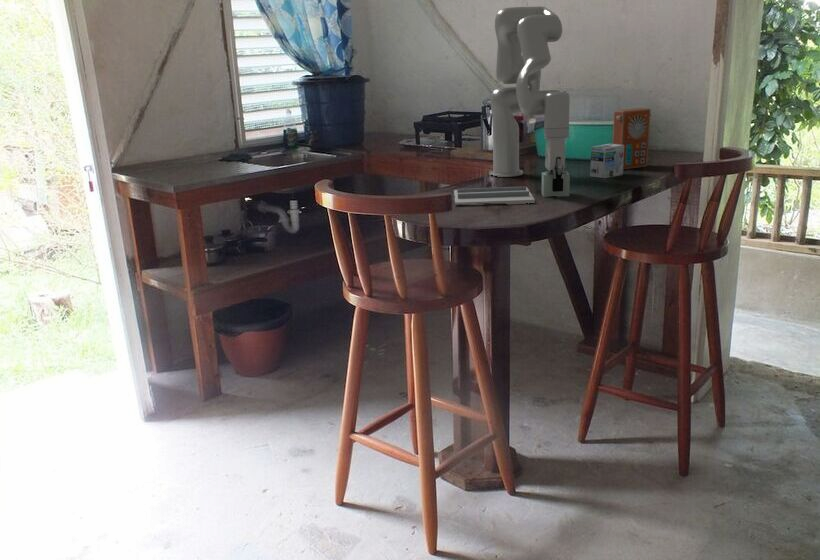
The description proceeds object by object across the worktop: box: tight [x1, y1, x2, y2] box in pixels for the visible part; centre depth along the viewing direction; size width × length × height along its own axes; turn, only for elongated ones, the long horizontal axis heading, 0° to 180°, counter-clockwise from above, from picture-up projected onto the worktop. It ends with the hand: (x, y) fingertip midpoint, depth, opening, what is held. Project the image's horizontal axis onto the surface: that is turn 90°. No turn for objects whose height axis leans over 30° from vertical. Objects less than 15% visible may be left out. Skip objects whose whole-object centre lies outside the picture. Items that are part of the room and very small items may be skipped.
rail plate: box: [453, 185, 536, 205], centre depth 219 cm, size 20×24×3 cm
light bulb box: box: [589, 143, 624, 179], centre depth 246 cm, size 11×7×11 cm, turn 126°
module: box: [540, 170, 571, 198], centre depth 219 cm, size 5×8×7 cm, turn 87°
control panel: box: [612, 107, 652, 170], centre depth 259 cm, size 21×7×15 cm
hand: (555, 188), depth 219 cm, fingers open, 8 cm apart
